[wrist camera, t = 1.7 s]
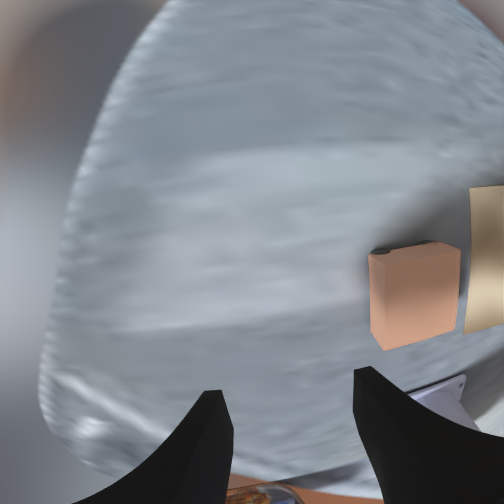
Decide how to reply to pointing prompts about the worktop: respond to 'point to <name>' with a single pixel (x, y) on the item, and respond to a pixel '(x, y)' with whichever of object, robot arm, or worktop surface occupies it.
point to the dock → (486, 259)
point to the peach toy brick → (413, 292)
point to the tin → (263, 495)
